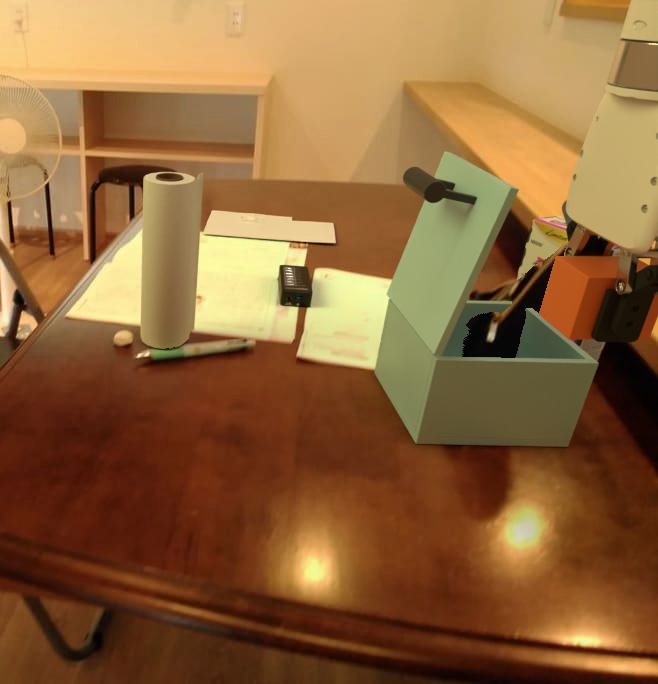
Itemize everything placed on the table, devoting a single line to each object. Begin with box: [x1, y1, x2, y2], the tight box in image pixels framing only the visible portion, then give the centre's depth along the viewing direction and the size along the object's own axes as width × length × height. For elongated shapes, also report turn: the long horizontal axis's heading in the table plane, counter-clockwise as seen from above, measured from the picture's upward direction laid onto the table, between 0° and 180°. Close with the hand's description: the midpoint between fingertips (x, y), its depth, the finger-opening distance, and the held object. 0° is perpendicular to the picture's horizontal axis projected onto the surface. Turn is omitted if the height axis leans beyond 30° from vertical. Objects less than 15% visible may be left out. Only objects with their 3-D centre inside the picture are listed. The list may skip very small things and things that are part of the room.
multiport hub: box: [277, 264, 313, 308], centre depth 104 cm, size 4×11×2 cm, turn 172°
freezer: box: [373, 298, 599, 448], centre depth 74 cm, size 16×15×10 cm
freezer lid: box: [386, 151, 520, 356], centre depth 68 cm, size 16×15×6 cm
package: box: [539, 256, 658, 341], centre depth 52 cm, size 6×4×5 cm
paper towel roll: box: [139, 171, 205, 350], centre depth 85 cm, size 7×6×21 cm
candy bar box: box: [515, 215, 621, 363], centre depth 85 cm, size 11×5×16 cm, turn 22°
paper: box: [202, 209, 337, 244], centre depth 133 cm, size 25×17×1 cm
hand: (593, 322), depth 53 cm, fingers closed on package, 4 cm apart
